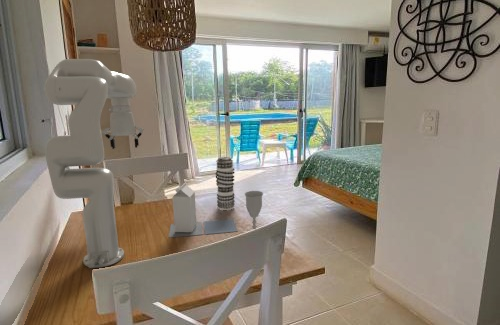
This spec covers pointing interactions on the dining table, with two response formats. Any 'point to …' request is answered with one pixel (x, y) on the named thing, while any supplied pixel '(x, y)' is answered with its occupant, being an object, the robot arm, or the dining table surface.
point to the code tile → (181, 234)
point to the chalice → (254, 204)
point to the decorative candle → (225, 183)
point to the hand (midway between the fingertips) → (125, 147)
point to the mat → (219, 226)
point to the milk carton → (184, 209)
